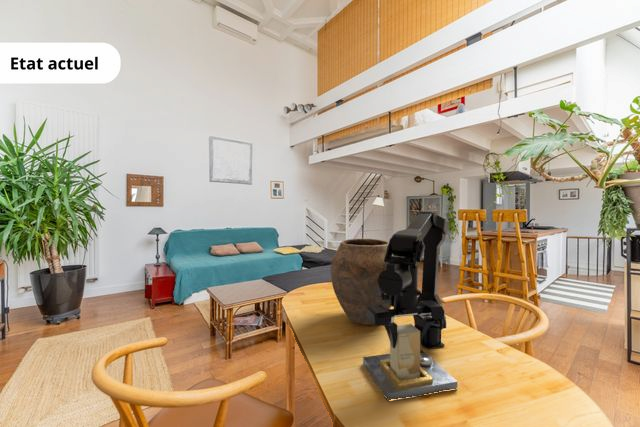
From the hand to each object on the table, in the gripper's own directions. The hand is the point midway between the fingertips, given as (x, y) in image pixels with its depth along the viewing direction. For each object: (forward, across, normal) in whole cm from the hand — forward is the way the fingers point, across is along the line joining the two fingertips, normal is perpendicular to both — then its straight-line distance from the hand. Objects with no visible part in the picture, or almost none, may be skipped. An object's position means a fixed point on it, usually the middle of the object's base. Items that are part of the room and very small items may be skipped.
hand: (405, 345), depth 70 cm
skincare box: (+8, 0, 0) cm, 8 cm away
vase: (+9, -4, -37) cm, 38 cm away
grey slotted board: (+9, -1, -1) cm, 9 cm away
